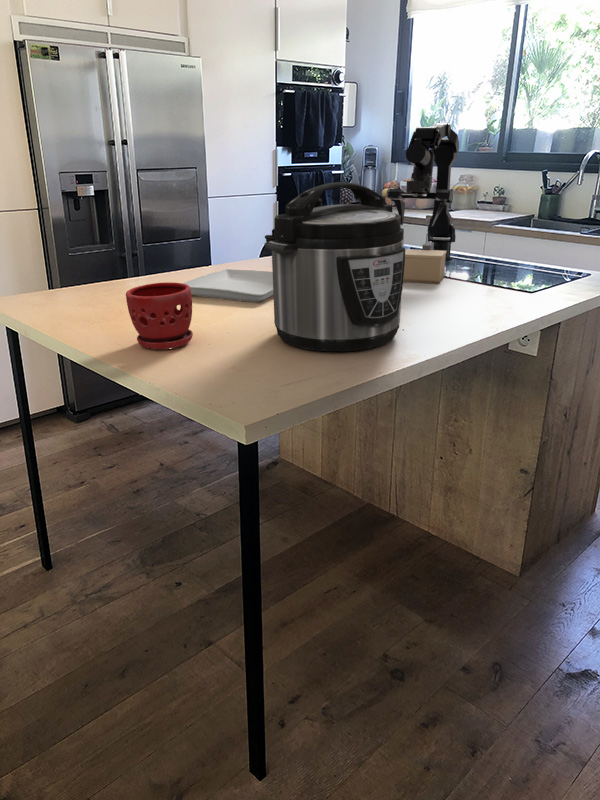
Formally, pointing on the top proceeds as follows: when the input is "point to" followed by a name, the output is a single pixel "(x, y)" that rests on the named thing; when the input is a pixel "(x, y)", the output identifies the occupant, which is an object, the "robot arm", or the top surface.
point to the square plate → (234, 285)
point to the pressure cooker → (337, 271)
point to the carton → (424, 270)
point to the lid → (425, 252)
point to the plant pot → (161, 314)
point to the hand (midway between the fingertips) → (416, 225)
